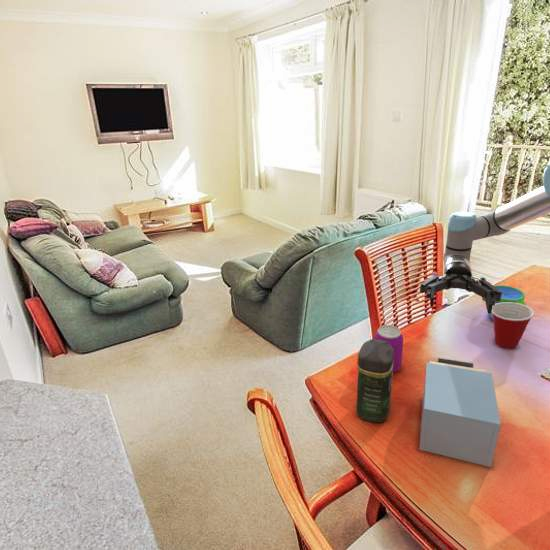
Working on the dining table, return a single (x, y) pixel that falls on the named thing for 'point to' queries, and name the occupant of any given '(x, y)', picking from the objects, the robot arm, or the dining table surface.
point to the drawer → (456, 364)
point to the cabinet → (459, 414)
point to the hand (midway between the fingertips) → (460, 305)
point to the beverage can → (392, 342)
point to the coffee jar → (374, 380)
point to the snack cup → (509, 296)
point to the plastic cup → (510, 323)
